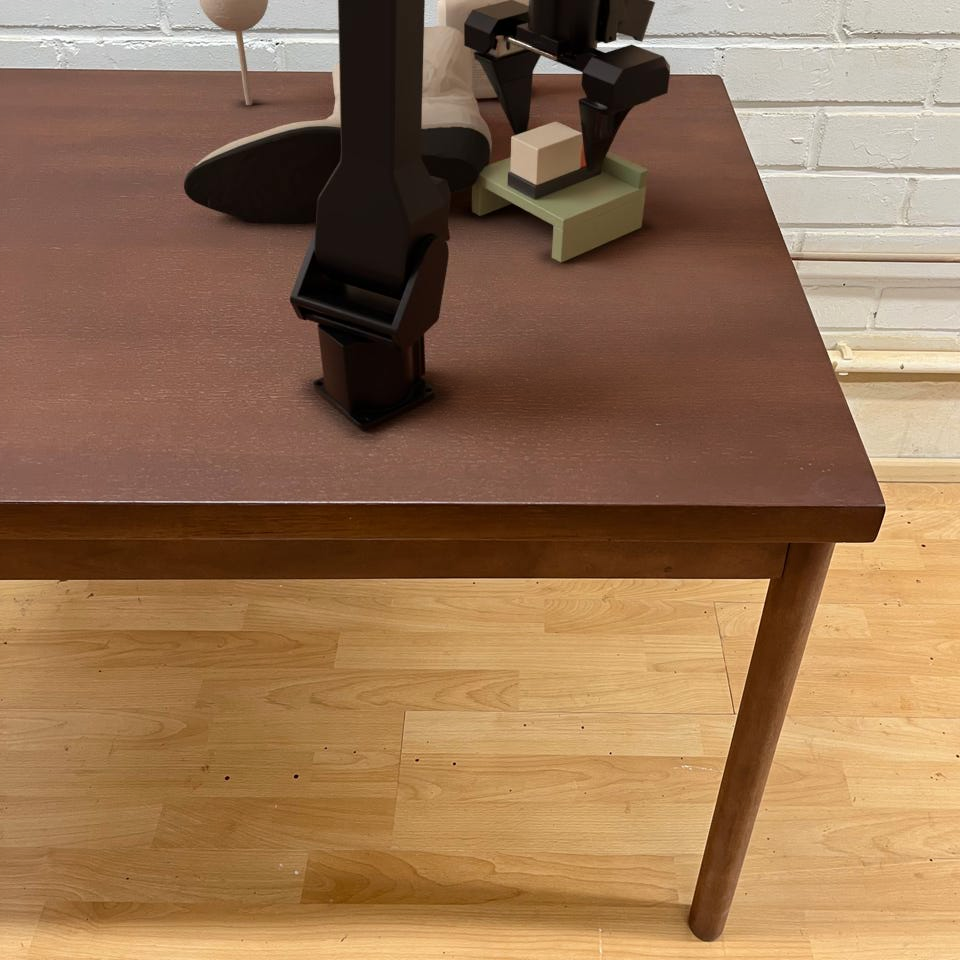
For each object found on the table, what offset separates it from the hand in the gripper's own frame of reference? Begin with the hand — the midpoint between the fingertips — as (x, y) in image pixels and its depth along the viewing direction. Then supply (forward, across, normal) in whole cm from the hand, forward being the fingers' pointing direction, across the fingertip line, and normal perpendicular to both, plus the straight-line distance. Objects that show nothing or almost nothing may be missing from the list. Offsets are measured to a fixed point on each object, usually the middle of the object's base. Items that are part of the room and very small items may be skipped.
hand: (556, 152), depth 87 cm
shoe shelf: (+6, 0, 0) cm, 7 cm away
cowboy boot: (+6, +21, +7) cm, 23 cm away
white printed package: (+7, +27, -14) cm, 31 cm away
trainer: (+2, 0, 0) cm, 2 cm away
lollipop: (+7, +41, +8) cm, 42 cm away
